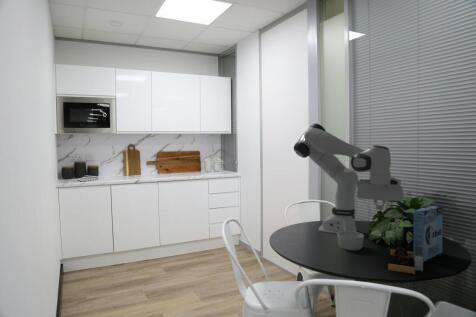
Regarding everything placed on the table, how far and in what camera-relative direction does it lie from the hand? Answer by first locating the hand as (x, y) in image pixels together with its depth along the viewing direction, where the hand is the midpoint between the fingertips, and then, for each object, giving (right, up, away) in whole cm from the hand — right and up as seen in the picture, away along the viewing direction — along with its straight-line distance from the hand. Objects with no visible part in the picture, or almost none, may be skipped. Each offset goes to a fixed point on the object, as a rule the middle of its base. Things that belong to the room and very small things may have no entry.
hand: (379, 209), depth 153 cm
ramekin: (-8, -23, +16) cm, 29 cm away
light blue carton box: (+24, -23, +2) cm, 33 cm away
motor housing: (+8, -23, -8) cm, 26 cm away
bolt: (+7, -24, -7) cm, 26 cm away
